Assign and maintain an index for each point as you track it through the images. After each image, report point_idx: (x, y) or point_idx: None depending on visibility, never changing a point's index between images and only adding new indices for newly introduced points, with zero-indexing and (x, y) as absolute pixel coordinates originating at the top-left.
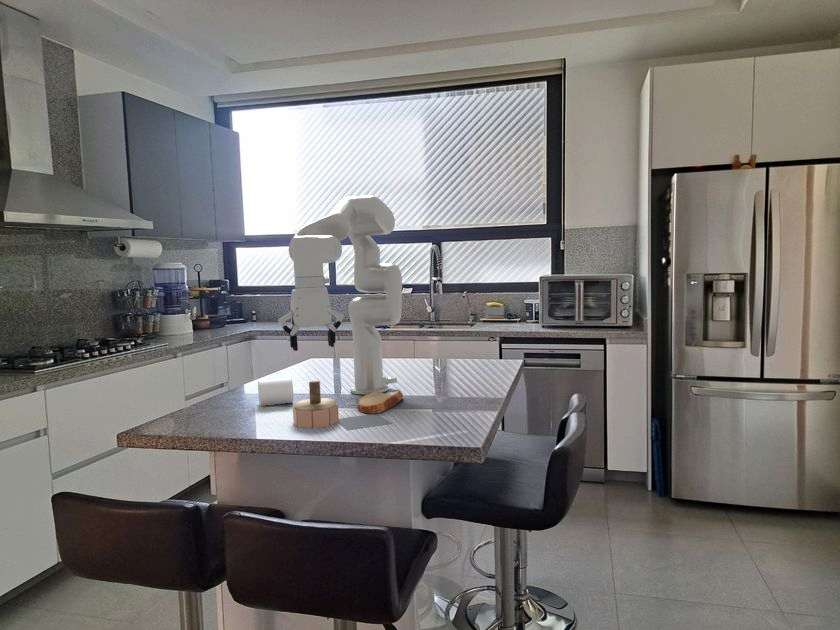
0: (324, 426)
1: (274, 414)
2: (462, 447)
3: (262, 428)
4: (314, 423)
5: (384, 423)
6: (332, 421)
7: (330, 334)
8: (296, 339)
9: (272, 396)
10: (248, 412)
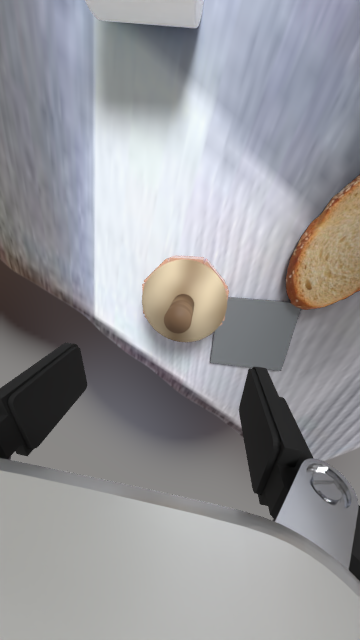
0: None
1: (133, 158)
2: None
3: (103, 265)
4: None
5: (271, 365)
6: None
7: (251, 480)
8: (46, 432)
9: (127, 13)
10: (77, 86)
